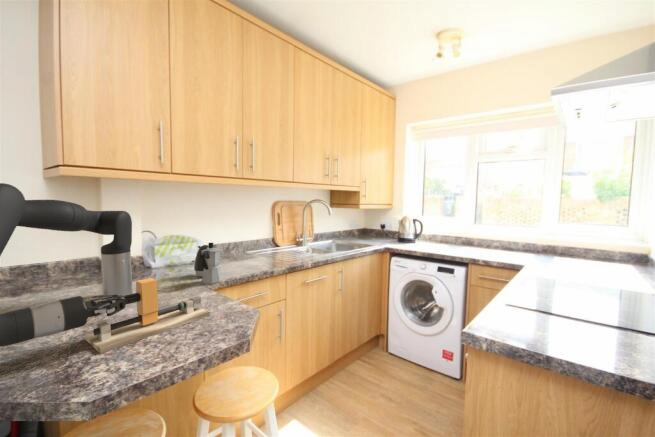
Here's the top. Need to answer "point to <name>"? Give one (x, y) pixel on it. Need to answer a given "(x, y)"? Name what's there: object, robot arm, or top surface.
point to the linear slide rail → (133, 331)
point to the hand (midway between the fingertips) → (139, 296)
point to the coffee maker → (211, 265)
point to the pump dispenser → (199, 261)
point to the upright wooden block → (147, 300)
